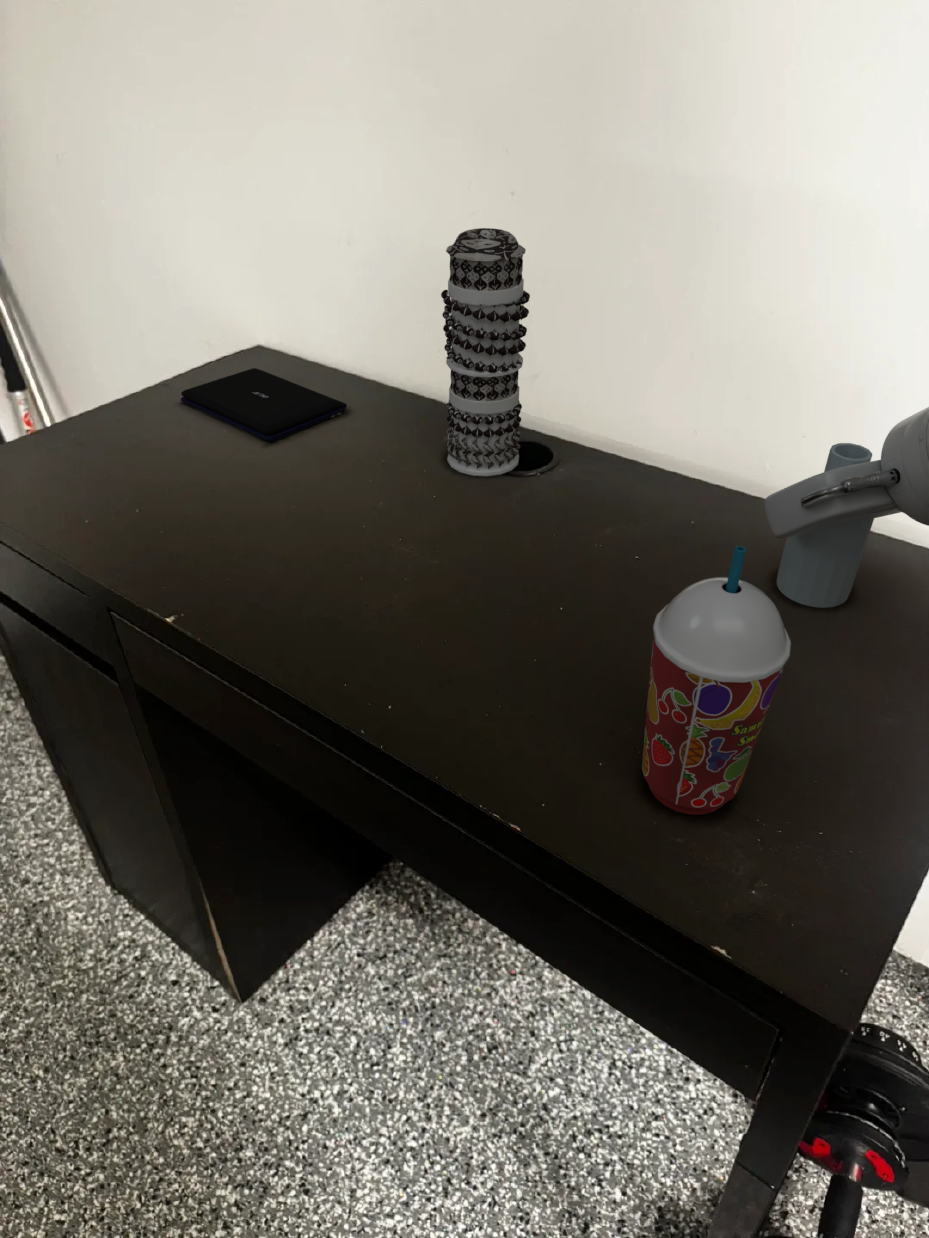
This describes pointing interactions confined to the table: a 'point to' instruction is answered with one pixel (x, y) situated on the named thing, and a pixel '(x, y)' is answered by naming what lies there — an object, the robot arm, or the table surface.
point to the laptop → (263, 403)
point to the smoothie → (710, 689)
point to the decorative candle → (484, 350)
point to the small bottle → (826, 549)
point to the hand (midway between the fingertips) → (825, 515)
